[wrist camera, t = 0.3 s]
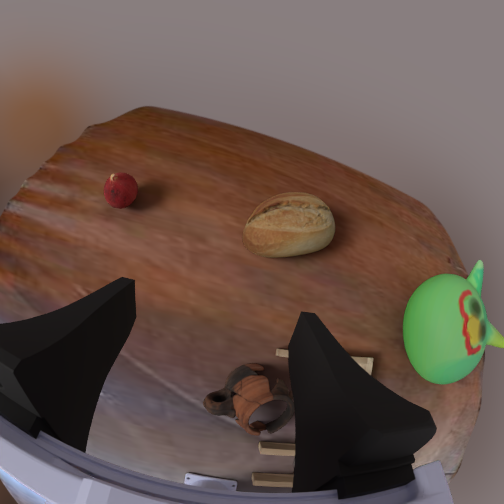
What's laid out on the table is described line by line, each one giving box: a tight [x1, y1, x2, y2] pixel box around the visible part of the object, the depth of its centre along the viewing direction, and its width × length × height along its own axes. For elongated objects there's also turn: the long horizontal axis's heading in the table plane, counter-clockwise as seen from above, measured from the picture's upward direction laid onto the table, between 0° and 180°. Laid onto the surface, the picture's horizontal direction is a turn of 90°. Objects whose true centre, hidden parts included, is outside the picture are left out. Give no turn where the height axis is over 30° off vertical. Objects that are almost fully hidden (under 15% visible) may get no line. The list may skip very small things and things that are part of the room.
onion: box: [104, 173, 138, 209], centre depth 40 cm, size 6×6×8 cm
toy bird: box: [403, 260, 504, 384], centre depth 34 cm, size 18×17×15 cm
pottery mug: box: [203, 363, 295, 435], centre depth 33 cm, size 12×9×8 cm
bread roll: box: [242, 192, 335, 258], centre depth 41 cm, size 10×15×8 cm, turn 104°
